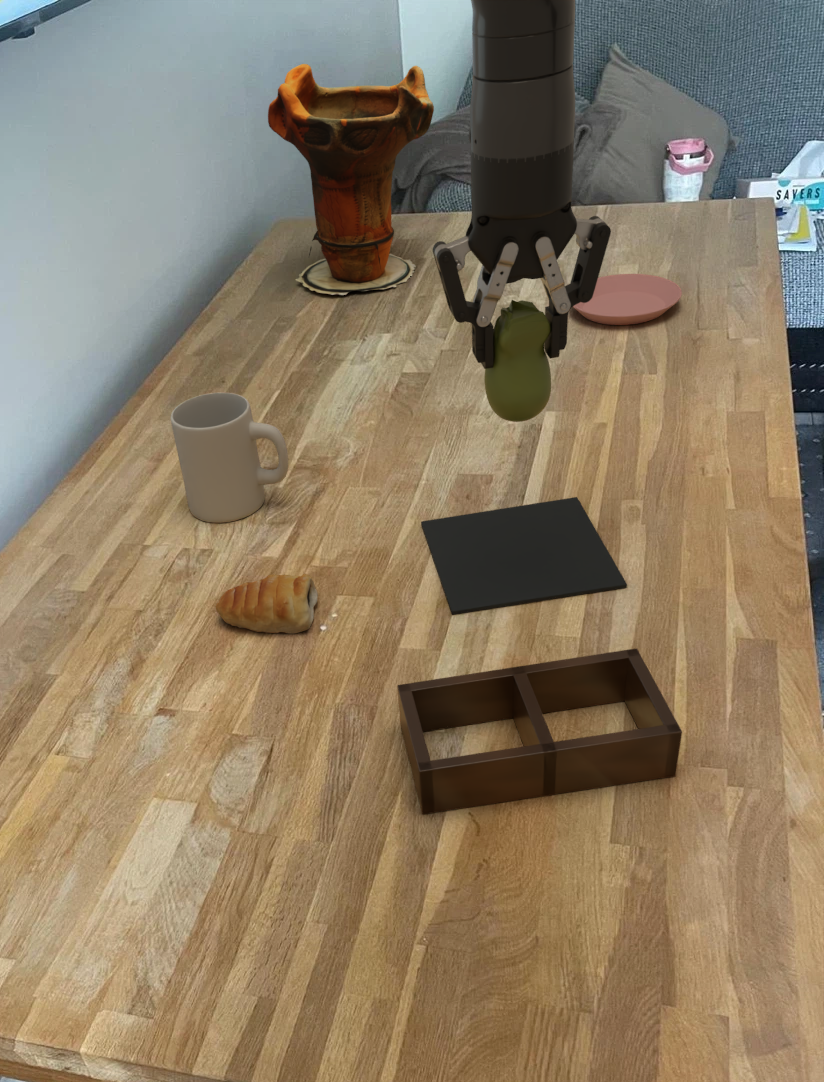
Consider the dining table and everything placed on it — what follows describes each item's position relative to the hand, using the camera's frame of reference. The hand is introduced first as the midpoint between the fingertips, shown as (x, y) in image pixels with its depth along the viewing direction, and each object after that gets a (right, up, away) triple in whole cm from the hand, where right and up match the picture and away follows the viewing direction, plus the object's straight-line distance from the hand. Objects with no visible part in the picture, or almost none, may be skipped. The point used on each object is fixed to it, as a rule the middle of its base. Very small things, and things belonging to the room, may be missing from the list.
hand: (519, 358), depth 92 cm
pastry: (-21, -21, +11) cm, 31 cm away
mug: (-24, -7, +28) cm, 38 cm away
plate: (+25, +24, +53) cm, 63 cm away
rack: (-1, -33, -7) cm, 34 cm away
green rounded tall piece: (+1, -4, +4) cm, 6 cm away
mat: (+3, -14, +13) cm, 20 cm away
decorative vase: (-8, +37, +75) cm, 84 cm away
